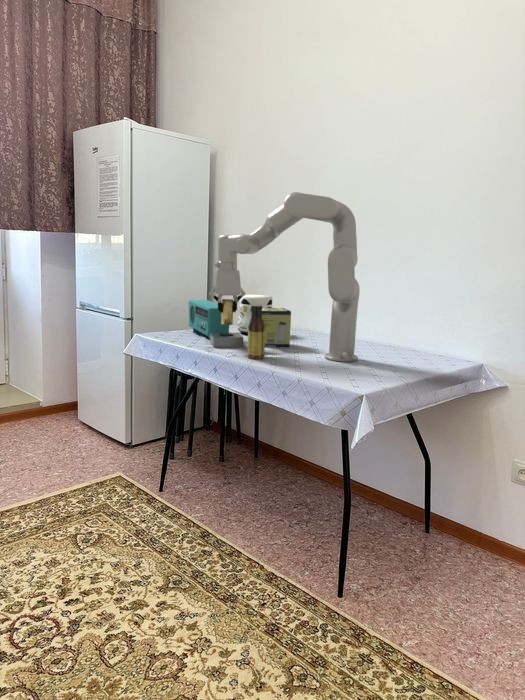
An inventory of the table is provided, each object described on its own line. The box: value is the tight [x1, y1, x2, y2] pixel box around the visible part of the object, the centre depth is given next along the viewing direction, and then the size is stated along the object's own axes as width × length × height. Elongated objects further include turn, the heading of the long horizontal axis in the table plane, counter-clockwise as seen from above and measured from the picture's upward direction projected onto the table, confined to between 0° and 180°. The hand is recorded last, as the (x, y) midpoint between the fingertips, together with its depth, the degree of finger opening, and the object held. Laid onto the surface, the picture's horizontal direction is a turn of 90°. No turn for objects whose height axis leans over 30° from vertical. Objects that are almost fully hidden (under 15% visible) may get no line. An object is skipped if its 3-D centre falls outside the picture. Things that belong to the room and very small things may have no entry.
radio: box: [188, 299, 230, 340], centre depth 243 cm, size 34×10×15 cm, turn 23°
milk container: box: [236, 294, 273, 335], centre depth 255 cm, size 17×17×18 cm
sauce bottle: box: [247, 305, 266, 360], centre depth 198 cm, size 6×6×20 cm
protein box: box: [250, 307, 292, 348], centre depth 225 cm, size 10×16×16 cm
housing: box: [209, 332, 244, 349], centre depth 219 cm, size 12×12×5 cm
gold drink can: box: [221, 298, 234, 326], centre depth 216 cm, size 5×5×10 cm
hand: (227, 311), depth 216 cm, fingers closed on gold drink can, 4 cm apart
